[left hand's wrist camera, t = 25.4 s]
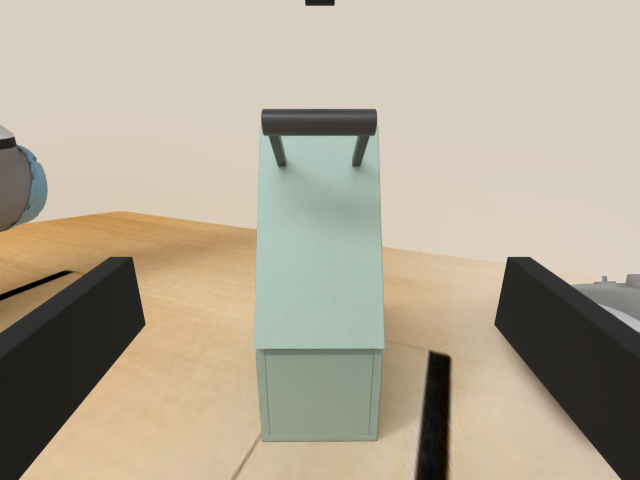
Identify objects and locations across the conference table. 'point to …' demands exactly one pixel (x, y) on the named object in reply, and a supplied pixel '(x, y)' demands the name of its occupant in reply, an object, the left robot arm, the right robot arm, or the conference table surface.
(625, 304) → the projector
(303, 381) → the chest
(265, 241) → the lid
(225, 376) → the conference table surface
